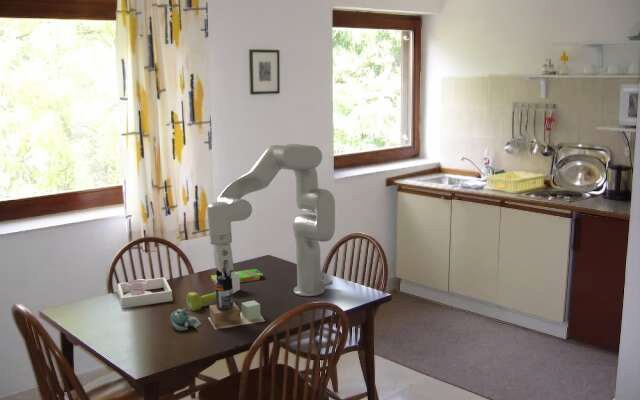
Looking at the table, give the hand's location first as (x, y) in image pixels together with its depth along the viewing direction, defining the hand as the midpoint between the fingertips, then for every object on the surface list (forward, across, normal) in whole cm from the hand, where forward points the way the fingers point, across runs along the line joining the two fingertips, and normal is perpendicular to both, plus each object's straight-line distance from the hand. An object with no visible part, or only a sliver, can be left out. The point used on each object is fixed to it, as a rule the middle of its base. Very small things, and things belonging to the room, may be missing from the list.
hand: (224, 285), depth 236 cm
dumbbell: (+15, +19, +3) cm, 25 cm away
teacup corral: (+14, +42, +24) cm, 50 cm away
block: (+13, 0, -9) cm, 16 cm away
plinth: (+14, 0, -3) cm, 15 cm away
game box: (+16, +47, -15) cm, 52 cm away
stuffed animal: (+14, +3, +14) cm, 20 cm away
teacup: (+15, +43, +26) cm, 53 cm away
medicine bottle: (+15, +34, -8) cm, 38 cm away
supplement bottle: (+8, 0, +1) cm, 8 cm away
